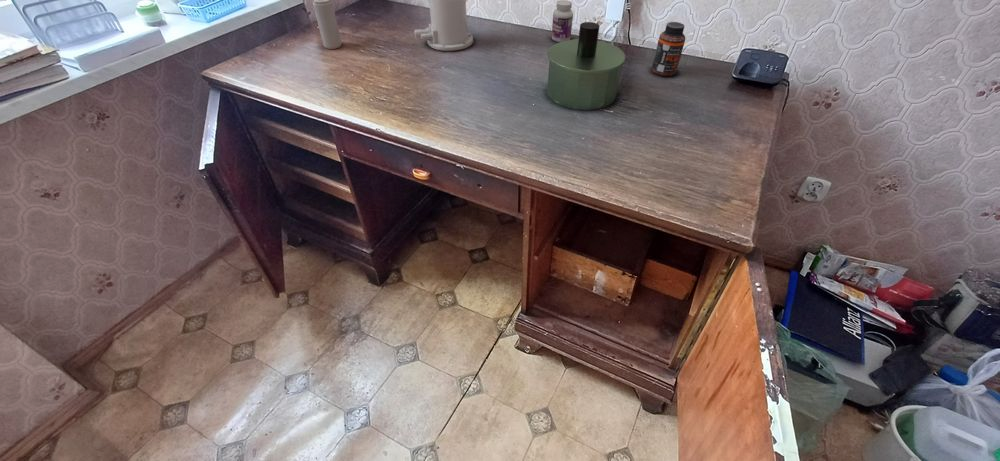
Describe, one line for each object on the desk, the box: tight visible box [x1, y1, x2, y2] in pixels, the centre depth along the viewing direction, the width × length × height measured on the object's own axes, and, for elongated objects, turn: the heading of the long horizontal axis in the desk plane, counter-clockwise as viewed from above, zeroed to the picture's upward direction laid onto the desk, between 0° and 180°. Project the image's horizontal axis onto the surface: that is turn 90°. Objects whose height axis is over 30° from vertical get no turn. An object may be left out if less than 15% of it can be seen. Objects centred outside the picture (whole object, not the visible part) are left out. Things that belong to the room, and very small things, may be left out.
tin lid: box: [547, 21, 626, 73], centre depth 99 cm, size 17×17×7 cm
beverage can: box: [312, 0, 343, 50], centre depth 123 cm, size 5×5×12 cm
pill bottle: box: [551, 0, 574, 43], centre depth 127 cm, size 5×5×10 cm
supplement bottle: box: [651, 21, 686, 77], centre depth 111 cm, size 6×6×11 cm
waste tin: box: [546, 59, 623, 111], centre depth 104 cm, size 16×16×8 cm
